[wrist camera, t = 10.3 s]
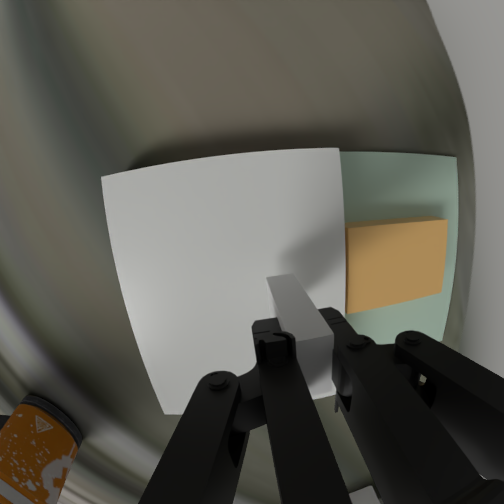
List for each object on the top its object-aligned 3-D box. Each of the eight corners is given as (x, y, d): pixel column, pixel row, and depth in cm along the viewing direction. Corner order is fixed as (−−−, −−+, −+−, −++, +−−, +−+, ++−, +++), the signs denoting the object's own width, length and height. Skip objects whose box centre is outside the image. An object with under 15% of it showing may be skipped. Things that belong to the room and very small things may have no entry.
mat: (336, 152, 18) (338, 151, 17) (453, 157, 18) (456, 157, 18) (338, 369, 22) (339, 372, 22) (439, 338, 23) (441, 340, 22)
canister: (88, 450, 24) (50, 564, 4) (23, 417, 22) (-30, 510, 3) (78, 411, 22) (18, 550, 2) (7, 373, 20) (-69, 475, 1)
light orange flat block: (337, 302, 20) (347, 314, 18) (336, 223, 19) (348, 228, 17) (427, 284, 21) (441, 292, 19) (432, 215, 19) (447, 219, 17)
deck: (119, 177, 17) (101, 177, 14) (322, 152, 18) (338, 147, 15) (169, 391, 21) (164, 414, 19) (327, 372, 22) (338, 393, 19)
